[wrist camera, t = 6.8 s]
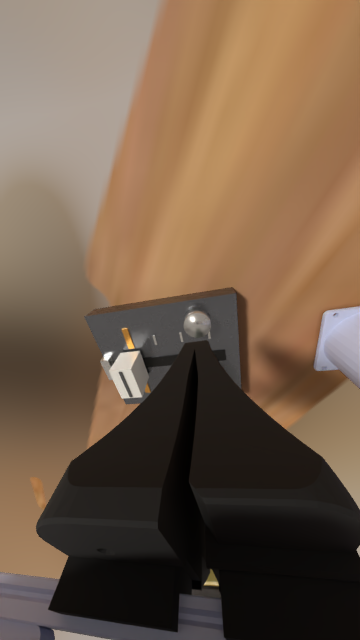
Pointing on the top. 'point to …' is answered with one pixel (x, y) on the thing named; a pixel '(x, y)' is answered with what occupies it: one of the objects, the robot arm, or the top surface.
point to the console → (169, 332)
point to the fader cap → (129, 374)
